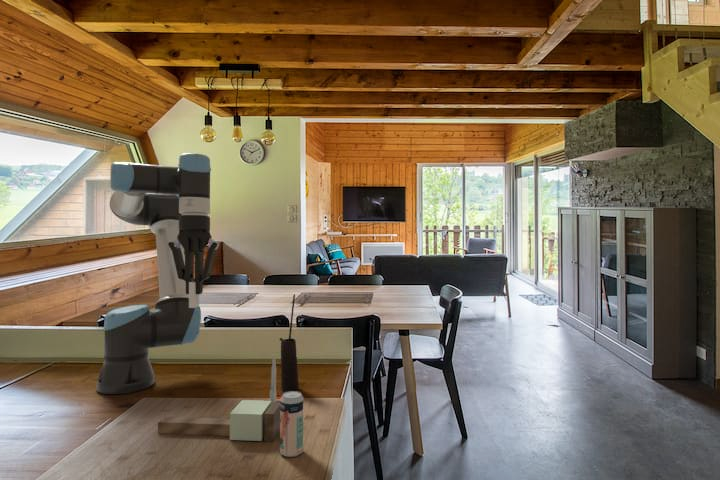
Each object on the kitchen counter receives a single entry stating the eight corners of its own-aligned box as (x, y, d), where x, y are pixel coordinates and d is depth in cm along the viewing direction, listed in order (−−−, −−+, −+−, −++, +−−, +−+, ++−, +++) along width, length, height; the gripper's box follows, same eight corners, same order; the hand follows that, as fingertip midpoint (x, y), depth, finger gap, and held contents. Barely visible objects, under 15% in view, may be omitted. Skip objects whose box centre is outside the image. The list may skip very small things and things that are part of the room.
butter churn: (263, 390, 125) (263, 294, 125) (286, 381, 133) (286, 290, 133) (286, 397, 120) (286, 296, 120) (308, 387, 127) (309, 293, 127)
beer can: (280, 447, 91) (281, 390, 91) (303, 446, 91) (304, 390, 91) (278, 459, 86) (279, 399, 86) (302, 458, 86) (303, 398, 86)
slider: (229, 439, 94) (229, 413, 94) (242, 424, 101) (242, 399, 101) (261, 440, 93) (261, 414, 93) (271, 425, 101) (271, 400, 101)
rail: (153, 437, 95) (153, 410, 95) (169, 423, 102) (169, 398, 102) (273, 441, 93) (273, 414, 93) (281, 427, 100) (281, 401, 100)
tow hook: (268, 400, 119) (254, 413, 109) (269, 349, 119) (255, 357, 110) (300, 402, 117) (288, 415, 108) (301, 351, 118) (290, 359, 108)
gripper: (162, 214, 107) (161, 309, 107) (213, 214, 106) (212, 309, 106) (177, 215, 115) (176, 304, 115) (224, 215, 114) (224, 305, 114)
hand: (194, 306), depth 110 cm, fingers closed
